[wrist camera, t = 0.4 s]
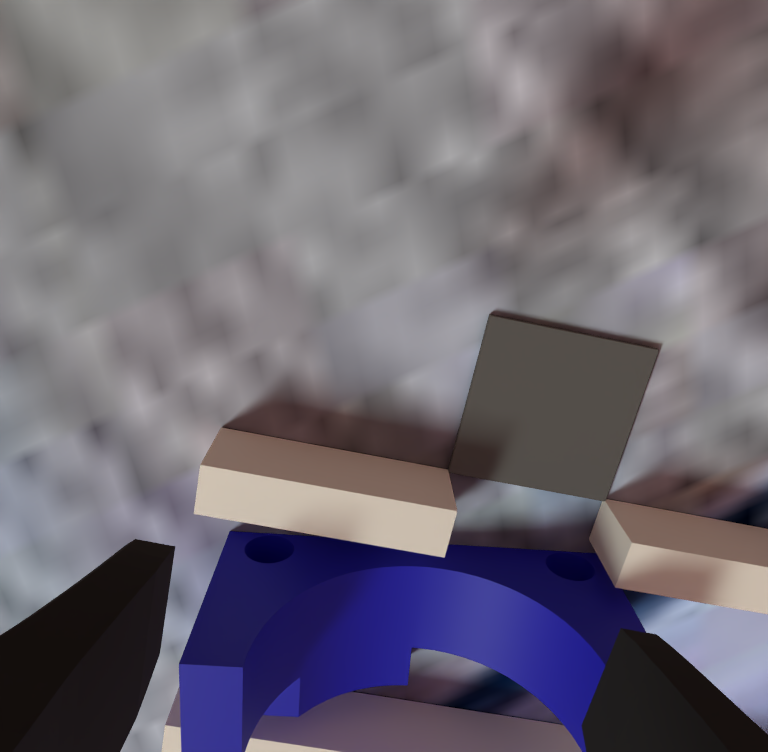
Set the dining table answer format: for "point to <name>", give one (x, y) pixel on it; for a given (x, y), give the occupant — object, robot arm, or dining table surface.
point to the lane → (431, 536)
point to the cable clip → (387, 627)
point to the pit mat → (550, 408)
